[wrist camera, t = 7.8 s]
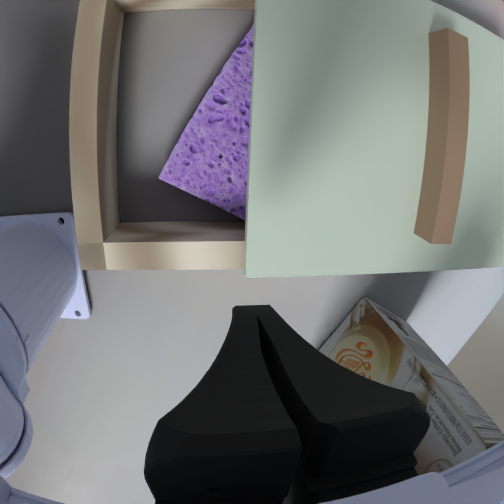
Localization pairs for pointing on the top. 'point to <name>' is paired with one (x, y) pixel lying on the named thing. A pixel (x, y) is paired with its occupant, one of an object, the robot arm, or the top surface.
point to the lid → (373, 140)
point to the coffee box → (414, 383)
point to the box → (105, 158)
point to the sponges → (218, 138)
